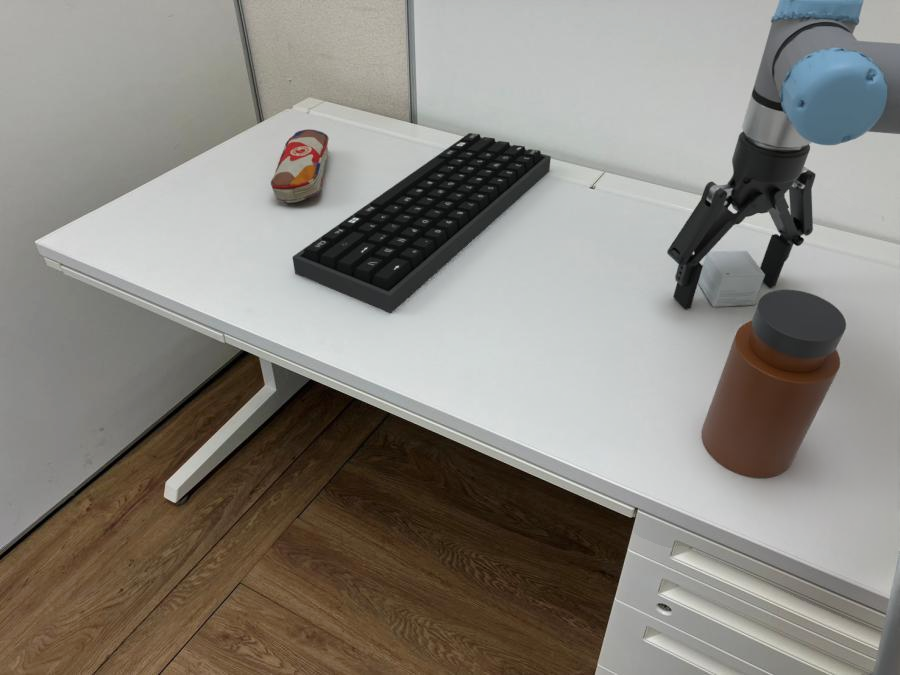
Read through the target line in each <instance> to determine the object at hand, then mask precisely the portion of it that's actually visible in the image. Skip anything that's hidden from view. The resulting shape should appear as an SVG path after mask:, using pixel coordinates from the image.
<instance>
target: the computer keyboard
mask: <svg viewBox="0 0 900 675" xmlns="http://www.w3.org/2000/svg"><path fill="white" fill-rule="evenodd" d="M551 158H552V156H551V155H549V154H548V155H547V154H544V153H542V151H541V150H538V149H533V148H532V149H531V148H528V149H526V147H525V145H517V144H513V145H512V144H511V143H510V142H509V141H503V140H497V141H496V138H494V137H488V136H483V137H481V134H480V133H474V132H473V133H472V132H468V133H467V134H465V135H464V136H463V137H461V138H460V139H458V140H457V141H456V142H454V143H453V144H452V145H450V146H449V147H447V148H446V149H444V150H443V151H441V152H440V153H439V154H437V155H436V156H434V157H433V158H432V159H430V160H429V161H427V162H426V163H424V164H423V165H421V166H420V167H418V168H417V169H416V170H414V171H413V172H412V173H411V174H409V175H406V177H405V178H403V179H402V180H400V181H398V182H397V183H396V184H394V185H393V186H391V187H390V188H389V189H387V190H386V191H384V192H383V193H382V194H380V195H379V196H378V197H375V198H374V199H373V200H371V201H370V202H368V203H367V204H366V205H364V206H363V207H362V208H360V209H358V210H357V211H356V212H354V213H353V214H352V215H350V216H349V217H347V218H346V219H343V221H341V222H340V223H339V224H337V225H336V226H334V227H333V228H331V229H330V230H328V231H327V232H325V233H324V234H323V235H321V236H320V237H319V238H317V239H316V240H314V241H313V242H312V243H309V245H307V246H306V247H304V248H303V249H301V250H300V251H298V252H297V253H296V254H294V255H293V256H292V257H291V258H292V263H293V268H294V269H293V270H294V274H296V275H298V276H300V277H303V278H305V279H306V280H307V279H308V280H310V281H312V282H315V283H318V284H320V285H321V286H324V287H327V288H330V289H332V290H335V291H337V292H339V293H341V294H344V295H346V296H349V297H351V298H354V299H356V300H358V301H360V302H363V303H366V304H368V305H371V306H372V307H376V308H378V309H380V310H383V311H385V312H387V313H389V314H392V313H393V312H394V311H395V310H396V309H397V308H399V307H400V305H402V304H403V303H404V302H405V301H406V300H407V299H408V298H410V297H411V296H412V295H413V294H414V293H415V292H416V291H417V290H419V288H421V287H422V286H423V285H424V284H425V283H426V282H428V280H430V279H431V278H432V277H433V276H435V274H437V272H439V271H440V270H441V269H442V268H443V267H444V266H445V265H447V263H449V262H450V261H451V260H452V259H453V258H454V257H455V256H456V255H458V254H459V253H460V252H461V251H462V250H463V249H465V247H466V246H468V245H469V244H470V243H471V242H472V241H473V240H474V239H475V238H477V236H479V235H480V234H481V233H482V232H484V230H486V228H488V227H489V226H490V225H491V224H492V223H493V222H494V221H495V220H497V219H498V218H499V217H500V216H501V215H503V214H504V213H505V212H506V211H507V210H508V209H509V208H511V206H513V204H514V203H516V202H517V201H518V200H519V199H520V198H521V197H522V196H523V195H525V194H526V192H528V191H529V190H530V189H531V188H532V187H534V186H535V185H536V184H537V183H538V182H539V181H540V180H542V178H544V177H545V176H546V175H547V174H548V173H549V172H550V168H551Z"/></svg>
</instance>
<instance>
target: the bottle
mask: <svg viewBox="0 0 900 675" xmlns="http://www.w3.org/2000/svg"><path fill="white" fill-rule="evenodd" d="M846 321H847V320H846V318H845V317H844V315H843V313H842V312H841V311H840V310H839V309H838V308H837V307H836V306H835V305H834V304H833V303H831V302H830V301H828V300H826V299H825V298H822V297H820V296H818V295H816V294H813V293H810V292H806V291H802V290H796V289H777V290H772V291H769V292H767V293H766V294H764V295H762V296H761V297H760V298H759V300H758V303H757V306H756V308H755V311H754V312H753V315H752V319H751V320H749V321H747V322H745V323H743V324H742V325H741V326H740V327H739V328H737V331H736V332H735V335H734V338H733V340H732V343H731V346H730V349H729V352H728V355H727V357H726V360H725V363H724V366H723V369H722V372H721V375H720V377H719V380H718V382H717V386H716V389H715V390H714V393H713V394H714V395H713V397H712V400H711V402H710V405H709V408H708V412H707V414H706V417H705V419H704V422H703V425H702V428H701V441H702V444H703V446H704V448H705V449H706V451H707V452H708V454H709V455H710V457H712V459H713V460H715V462H717V463H718V464H719V465H721V466H722V467H724V468H726V469H727V470H729V471H732V472H733V473H735V474H739V475H740V476H741V475H742V476H745V477H748V478H755V479H757V478H758V479H766V478H767V479H768V478H773V477H776V476H779V475H782V474H783V473H785V472H786V471H787V470H788V469H789V468H790V466H791V465H792V464H793V461H794V459H795V457H796V455H797V454H798V452H799V449H800V448H801V445H802V443H803V442H804V439H805V438H806V435H807V433H808V431H809V430H810V427H811V426H812V424H813V421H814V420H815V418H816V415H817V413H818V412H819V409H820V407H821V406H822V404H823V402H824V400H825V398H826V396H827V394H828V391H829V390H830V388H831V386H832V384H833V382H834V380H835V378H836V376H837V374H838V373H839V370H840V367H841V358H840V354H839V352H838V350H837V348H838V346H839V344H840V342H841V339H842V338H843V335H844V334H845V331H846V330H847V322H846Z"/></svg>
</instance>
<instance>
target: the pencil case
mask: <svg viewBox="0 0 900 675" xmlns="http://www.w3.org/2000/svg"><path fill="white" fill-rule="evenodd" d="M329 140H330V139H329V136H328V134H327V133H325V132H324V131H320V130H317V129H309V128H308V129H307V128H306V129H302V130H298V131H296V132H295V133H294V134H293V135H292V136H290V138H288V139H287V141H286V142H285V144H284V147H283V150H282V153H281V155H280V157H279V161H278V162H277V166H276V169H275V171H274V174H273V177H272V178H271V180H270V186H271V189H272V191H273V194H274V196H275V198H276V199H277V200H278V201H280V202H283V203H286V204H295V203H298V202H301V201H304V200H307V199H310V198H312V197H314V196H316V195H317V194H319V193H320V192H321V189H322V187H323V178H324V171H325V165H326V162H327V160H328V157H329V148H328V145H329Z"/></svg>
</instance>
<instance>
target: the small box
mask: <svg viewBox="0 0 900 675" xmlns="http://www.w3.org/2000/svg"><path fill="white" fill-rule="evenodd" d="M702 265H703V268H702V271H701V274H700V278H699V281H698V285H699V286H700V288H701V289H702V292H703V293H704V295H705V296H706V298H707V300H708V301H709V303H710V305H711V306H712V307H713V308H717V307H719V308H720V307H744V306H754V305H755V303H756V301H757V297H758V296H759V293H760V289H761V287H762V285H763V283H764V282H763V279H764V277H765V274H764V273H763V271H762V270H761V269H760V266H759V264H757V261H755V260H754V258H753V257H752V255H751V254H750V252H748V250H728V251H709V252H708V253H707V254H706V256H705V257H704V258H703V263H702Z"/></svg>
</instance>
